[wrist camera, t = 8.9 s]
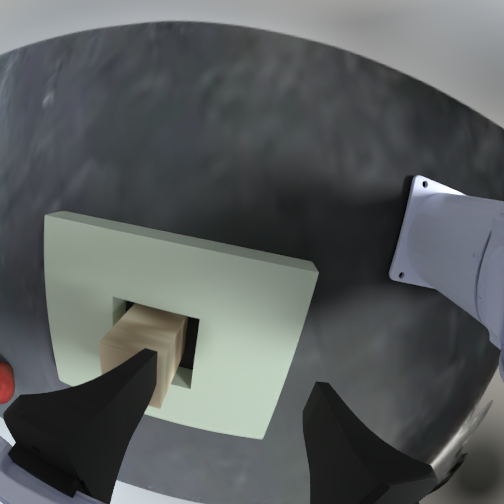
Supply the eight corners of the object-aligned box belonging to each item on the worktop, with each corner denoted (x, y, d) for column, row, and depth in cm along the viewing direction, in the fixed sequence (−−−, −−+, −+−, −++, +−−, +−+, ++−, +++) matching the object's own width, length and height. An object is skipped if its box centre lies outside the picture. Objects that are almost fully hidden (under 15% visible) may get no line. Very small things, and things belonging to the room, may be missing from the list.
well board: (312, 261, 20) (319, 272, 18) (262, 420, 24) (262, 439, 21) (63, 210, 20) (44, 214, 17) (71, 366, 24) (59, 379, 21)
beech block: (189, 309, 21) (161, 361, 14) (184, 351, 22) (160, 409, 15) (140, 297, 21) (98, 342, 14) (139, 339, 22) (103, 390, 15)
